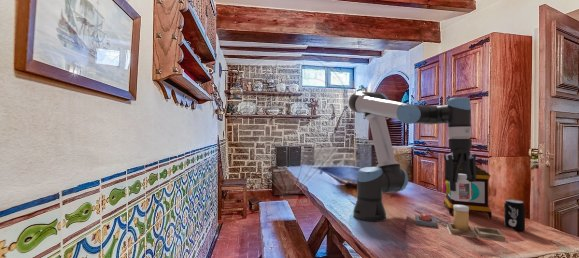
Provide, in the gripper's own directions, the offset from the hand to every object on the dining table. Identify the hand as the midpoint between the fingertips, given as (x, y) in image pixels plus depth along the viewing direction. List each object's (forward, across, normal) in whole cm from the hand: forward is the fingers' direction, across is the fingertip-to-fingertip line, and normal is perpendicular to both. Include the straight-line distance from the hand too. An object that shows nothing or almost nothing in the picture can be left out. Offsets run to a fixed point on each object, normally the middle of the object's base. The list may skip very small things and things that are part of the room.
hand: (461, 198), depth 101 cm
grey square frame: (+15, -2, +16) cm, 22 cm away
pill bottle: (+1, 0, 0) cm, 1 cm away
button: (+14, -1, +16) cm, 22 cm away
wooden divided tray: (+15, +8, +1) cm, 17 cm away
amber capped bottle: (+14, +4, +4) cm, 15 cm away
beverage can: (+16, +31, +2) cm, 35 cm away
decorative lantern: (+15, +34, +26) cm, 46 cm away
